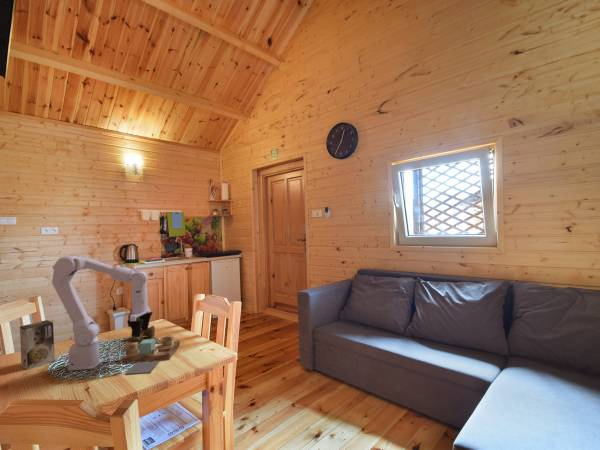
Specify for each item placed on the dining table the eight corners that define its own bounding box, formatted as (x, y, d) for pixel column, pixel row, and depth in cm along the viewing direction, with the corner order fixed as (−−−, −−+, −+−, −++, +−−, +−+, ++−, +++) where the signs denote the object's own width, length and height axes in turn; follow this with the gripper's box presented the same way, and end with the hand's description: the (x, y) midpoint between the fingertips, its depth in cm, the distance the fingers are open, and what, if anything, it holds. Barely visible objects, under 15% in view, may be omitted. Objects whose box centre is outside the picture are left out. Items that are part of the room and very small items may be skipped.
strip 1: (124, 357, 124) (124, 345, 124) (129, 353, 128) (128, 341, 128) (154, 355, 125) (154, 343, 125) (158, 351, 129) (157, 340, 129)
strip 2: (144, 350, 131) (144, 338, 131) (148, 346, 135) (148, 335, 135) (171, 348, 132) (171, 337, 132) (174, 345, 136) (174, 334, 136)
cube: (139, 354, 125) (139, 343, 125) (144, 350, 129) (143, 339, 129) (151, 354, 125) (150, 343, 125) (155, 349, 129) (155, 338, 129)
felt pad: (125, 374, 112) (124, 373, 112) (135, 363, 121) (135, 362, 121) (150, 373, 113) (150, 372, 113) (159, 362, 122) (159, 361, 122)
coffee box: (48, 357, 129) (47, 319, 129) (55, 360, 126) (54, 321, 126) (20, 366, 121) (19, 326, 121) (26, 370, 118) (25, 328, 118)
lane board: (121, 362, 122) (121, 356, 122) (136, 348, 136) (136, 342, 136) (169, 359, 124) (169, 353, 124) (179, 345, 138) (179, 340, 138)
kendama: (122, 351, 135) (137, 334, 155) (145, 349, 137) (157, 332, 157) (121, 337, 135) (137, 322, 155) (145, 336, 137) (157, 321, 157)
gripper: (142, 304, 120) (144, 339, 120) (156, 295, 134) (157, 326, 134) (123, 305, 119) (125, 340, 119) (139, 296, 134) (140, 327, 134)
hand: (141, 333), depth 127 cm, fingers open, 7 cm apart
